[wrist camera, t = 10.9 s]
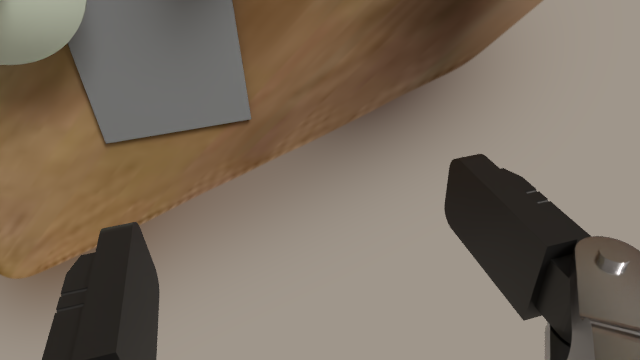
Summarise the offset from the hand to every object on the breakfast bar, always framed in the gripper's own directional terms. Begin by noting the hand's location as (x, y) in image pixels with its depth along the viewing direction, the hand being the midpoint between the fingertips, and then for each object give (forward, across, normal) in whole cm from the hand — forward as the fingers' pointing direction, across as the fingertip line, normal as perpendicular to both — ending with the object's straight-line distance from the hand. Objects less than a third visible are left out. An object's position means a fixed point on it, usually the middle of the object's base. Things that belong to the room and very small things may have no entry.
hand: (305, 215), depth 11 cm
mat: (+33, +6, +6) cm, 34 cm away
